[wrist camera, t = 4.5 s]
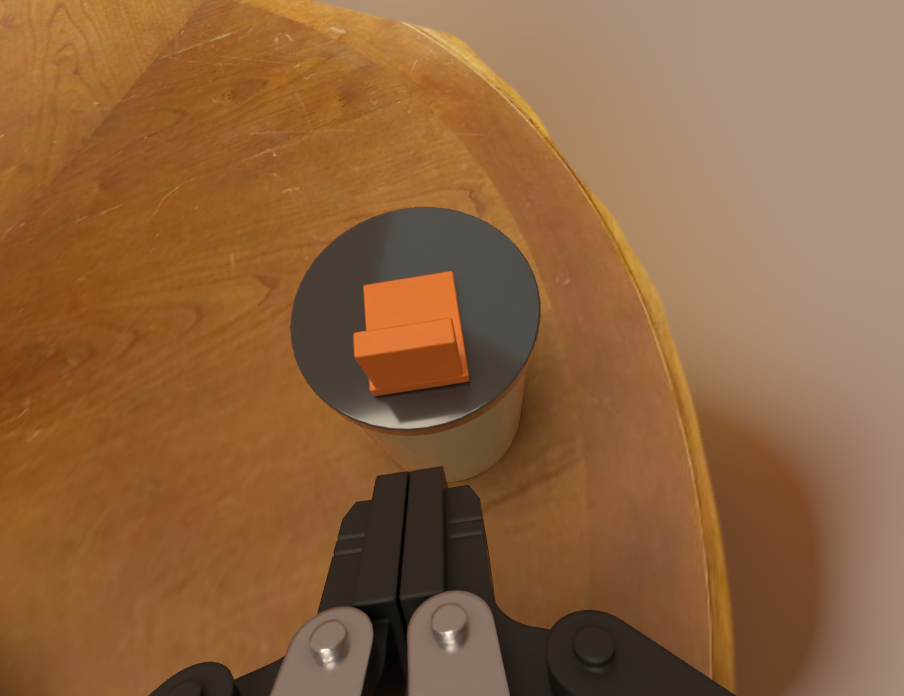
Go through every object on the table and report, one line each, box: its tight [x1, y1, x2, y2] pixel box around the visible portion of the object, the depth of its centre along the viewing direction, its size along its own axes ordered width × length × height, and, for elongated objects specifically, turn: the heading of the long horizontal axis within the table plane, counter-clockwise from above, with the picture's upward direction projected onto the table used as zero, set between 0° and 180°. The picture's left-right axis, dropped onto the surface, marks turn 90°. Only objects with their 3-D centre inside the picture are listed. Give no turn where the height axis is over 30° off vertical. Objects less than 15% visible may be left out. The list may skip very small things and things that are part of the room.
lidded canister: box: [290, 207, 541, 482], centre depth 23 cm, size 9×9×12 cm
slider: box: [353, 271, 470, 396], centre depth 16 cm, size 4×3×3 cm
